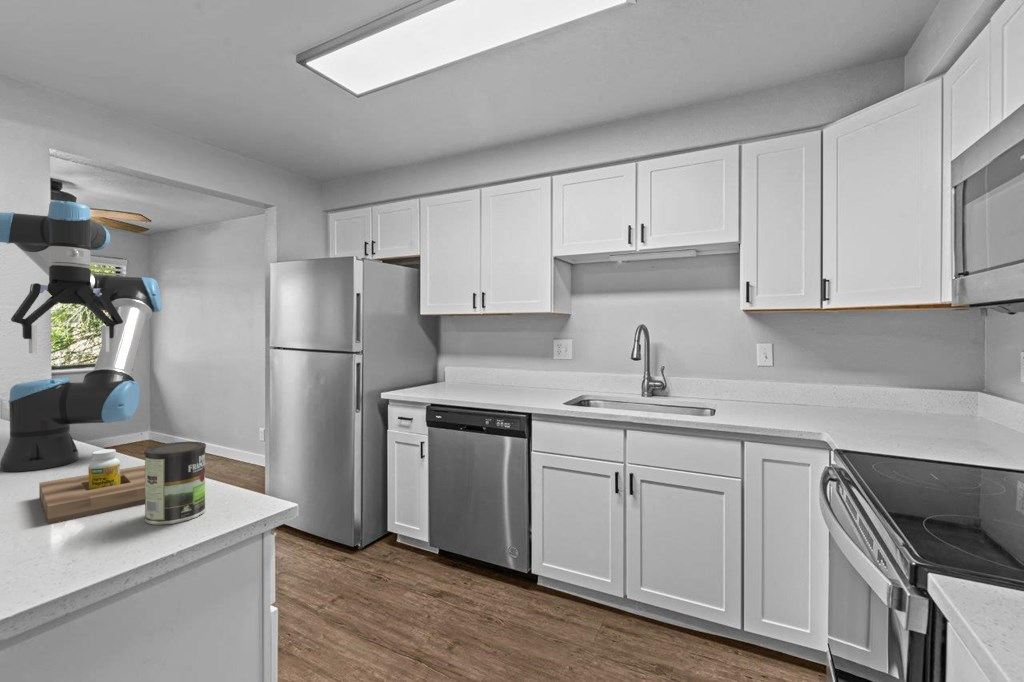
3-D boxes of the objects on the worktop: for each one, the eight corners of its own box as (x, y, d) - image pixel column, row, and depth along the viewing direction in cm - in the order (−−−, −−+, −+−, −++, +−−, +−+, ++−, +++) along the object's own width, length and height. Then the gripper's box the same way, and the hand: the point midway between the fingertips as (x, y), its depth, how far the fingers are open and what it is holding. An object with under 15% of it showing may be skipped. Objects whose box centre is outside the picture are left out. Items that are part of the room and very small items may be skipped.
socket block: (39, 498, 105) (39, 482, 105) (150, 478, 120) (150, 464, 120) (47, 524, 92) (47, 506, 91) (172, 497, 107) (171, 482, 106)
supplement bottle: (121, 488, 109) (121, 446, 109) (118, 495, 105) (118, 452, 104) (91, 492, 106) (90, 450, 106) (86, 499, 102) (86, 455, 101)
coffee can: (214, 504, 103) (214, 440, 103) (190, 524, 93) (190, 452, 93) (162, 506, 101) (162, 441, 101) (132, 526, 91) (132, 454, 91)
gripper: (1, 258, 104) (2, 354, 104) (137, 271, 125) (137, 351, 126) (-8, 260, 108) (-7, 353, 108) (125, 272, 129) (126, 350, 129)
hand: (70, 352), depth 117 cm, fingers open, 13 cm apart
